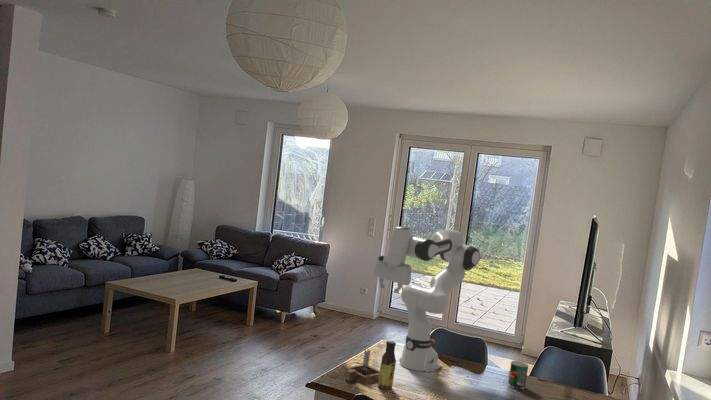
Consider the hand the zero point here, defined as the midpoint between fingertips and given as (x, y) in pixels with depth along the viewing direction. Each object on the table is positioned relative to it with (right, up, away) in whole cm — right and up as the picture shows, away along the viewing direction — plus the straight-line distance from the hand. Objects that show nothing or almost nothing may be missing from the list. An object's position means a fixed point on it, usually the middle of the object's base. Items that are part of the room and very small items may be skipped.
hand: (388, 290), depth 258 cm
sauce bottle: (-3, -39, -15) cm, 42 cm away
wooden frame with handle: (-13, -37, -7) cm, 40 cm away
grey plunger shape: (-11, -38, -6) cm, 40 cm away
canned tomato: (+61, -47, +10) cm, 78 cm away
